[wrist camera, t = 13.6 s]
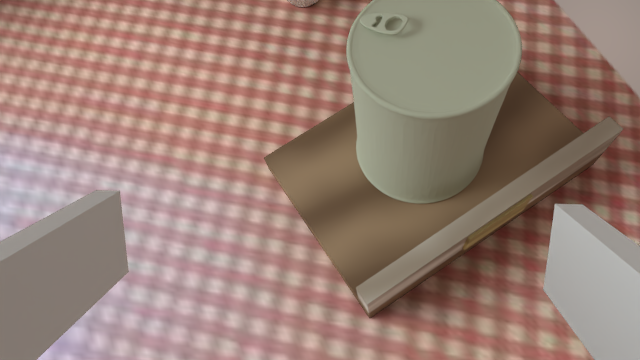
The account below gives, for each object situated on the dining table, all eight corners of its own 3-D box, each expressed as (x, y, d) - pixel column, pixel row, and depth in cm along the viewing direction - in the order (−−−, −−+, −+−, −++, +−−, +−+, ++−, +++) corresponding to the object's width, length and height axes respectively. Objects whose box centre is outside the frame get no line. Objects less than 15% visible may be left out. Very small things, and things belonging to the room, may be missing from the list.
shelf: (269, 169, 39) (253, 137, 35) (468, 45, 42) (478, 0, 37) (371, 320, 34) (369, 307, 29) (594, 166, 36) (626, 131, 31)
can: (390, 78, 39) (392, -47, 28) (502, 121, 36) (552, 1, 26) (334, 172, 36) (313, 73, 26) (451, 226, 34) (484, 141, 23)
